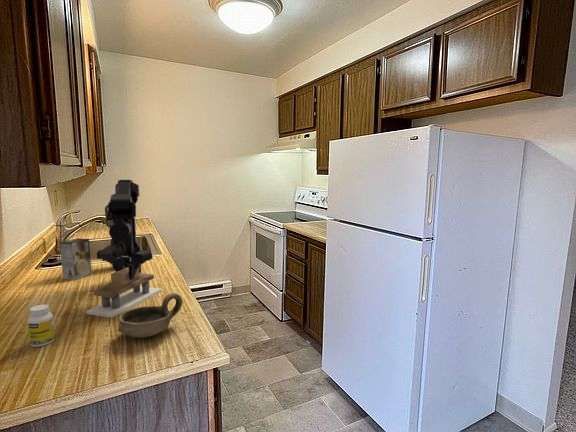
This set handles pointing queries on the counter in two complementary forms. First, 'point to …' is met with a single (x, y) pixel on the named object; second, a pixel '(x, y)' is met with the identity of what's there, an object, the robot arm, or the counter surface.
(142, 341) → the counter surface
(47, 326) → the supplement bottle
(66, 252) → the coffee box
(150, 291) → the peg stand
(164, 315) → the bowl
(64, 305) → the counter surface
